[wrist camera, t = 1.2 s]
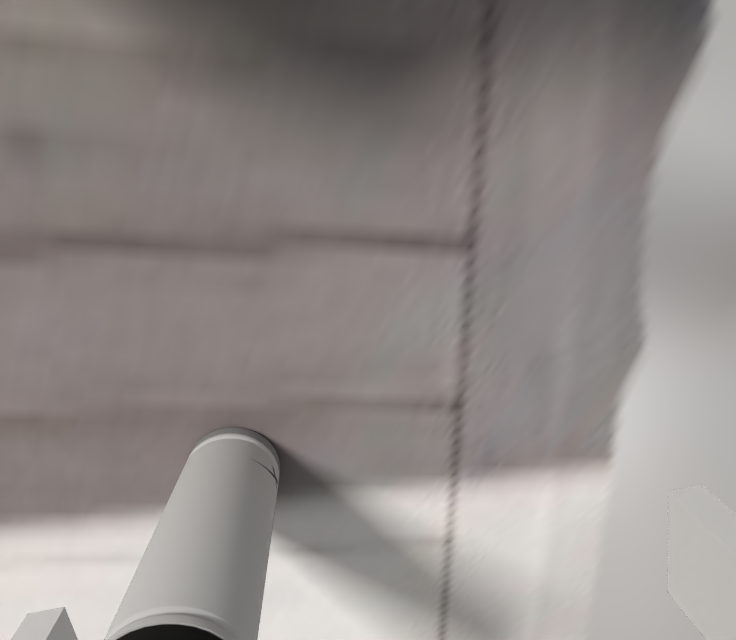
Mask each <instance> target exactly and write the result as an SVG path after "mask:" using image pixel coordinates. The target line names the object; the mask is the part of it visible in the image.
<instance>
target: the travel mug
mask: <svg viewBox="0 0 736 640" xmlns="http://www.w3.org/2000/svg"><path fill="white" fill-rule="evenodd" d="M279 476H280V462H279V457H278V455H277V453H276V450H275V449H274V447H273V446H272V445H271V443H270V442H269V441H268V440H267V439H266V438H264V437H263V436H261V435H260V434H258V433H256V432H254V431H252V430H249V429H245V428H240V427H228V428H221V429H218V430H215V431H212V432H210V433H209V434H207V435H205V436H204V437H203V438H201V439H200V440H199V441H198V442H197V443H196V445H195V446H194V447H193V449H192V451H191V453H190V455H189V458H188V460H187V462H186V464H185V466H184V468H183V471H182V473H181V475H180V477H179V479H178V481H177V484H176V486H175V488H174V490H173V492H172V494H171V497H170V499H169V501H168V503H167V505H166V507H165V509H164V512H163V514H162V516H161V518H160V520H159V522H158V525H157V527H156V529H155V531H154V533H153V535H152V538H151V540H150V542H149V544H148V546H147V548H146V551H145V553H144V555H143V557H142V559H141V561H140V564H139V566H138V568H137V570H136V572H135V574H134V576H133V579H132V581H131V583H130V585H129V587H128V589H127V592H126V594H125V596H124V598H123V600H122V602H121V605H120V607H119V609H118V611H117V613H116V615H115V618H114V620H113V622H112V624H111V626H110V628H109V630H108V633H107V635H106V637H105V639H104V640H257V637H258V630H259V623H260V615H261V608H262V601H263V593H264V586H265V579H266V571H267V564H268V557H269V549H270V542H271V535H272V527H273V520H274V513H275V506H276V498H277V491H278V483H279Z"/></svg>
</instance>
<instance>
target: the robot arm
mask: <svg viewBox="0 0 736 640" xmlns="http://www.w3.org/2000/svg"><path fill="white" fill-rule="evenodd" d="M667 584H668V586H667V587H668V588H667V589H668V590H667V591H668V593H669V594H670V595H671V597H672V598H673V599H674V600H675V602H676V603H677V604H678V605H679V606H680V608H681V609H682V610H683V612H684V613H685V614H686V615H687V617H688V618H689V619H690V620H691V621H692V623H693V624H694V625H695V626H696V628H697V629H698V630H699V631H700V633H701V634H702V635H703V636H704V637H705V639H706V640H736V513H735V512H734V511H732V510H731V509H730V508H729V507H728V506H726V505H725V504H724V503H723V502H722V501H721V500H719V499H718V498H717V497H716V496H715V495H714V494H712V493H711V492H710V491H709V490H708V489H707V488H705V487H704V486H703V485H697V486H692V487H687V488H682V489H676V490H672V491H668V583H667ZM11 640H78V639H77V637H76V634H75V632H74V629H73V627H72V624H71V622H70V619H69V617H68V614H67V612H66V609H65V607H61V608H56V609H51V610H45V611H40V612H35V613H30V614H27V616H26V617H25V619H24V620H23V622H22V623H21V625H20V627H19V628H18V630H17V631H16V633H15V634H14V636H13V638H12V639H11Z"/></svg>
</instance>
